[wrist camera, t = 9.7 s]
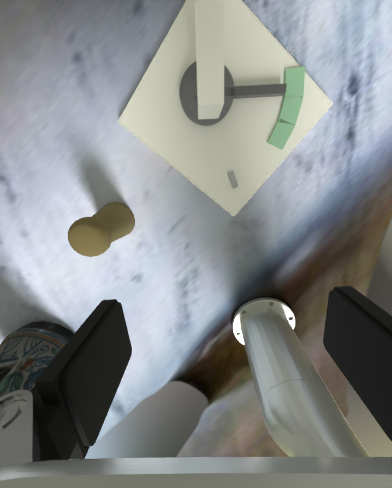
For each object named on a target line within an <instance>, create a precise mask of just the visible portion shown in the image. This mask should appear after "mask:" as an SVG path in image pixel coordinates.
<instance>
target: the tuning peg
mask: <svg viewBox="0 0 392 488" xmlns="http://www.w3.org/2000/svg"><path fill="white" fill-rule="evenodd" d="M224 29H225V0H216V1H201V2H195V32H196V61H195V62H194V63H192V64H191V65H190V66H189V67H188V68H187V70H186V71H185V73H184V74H183V77H182V79H181V83H180V89H179V95H180V101H181V105H182V108H183V110H184V112H185V114H186V115H187V117H188V118H189V119H190V120H191V121H192V122H194V123H196V124H198V125H201V126H211V125H214V124H216V123H218V122H220V121H221V120H222V119H223V118H224V117H225V116H226V114H227V113H228V111H229V109H230V107H231V105H232V102H233V99H239V98H258V97H277V96H283V95H284V94H285V93H286V87H287V84H269V85H250V86H234V82H233V78H232V76H231V73H230V72H229V70H228V69H227V67H226V66H225V65H224Z"/></svg>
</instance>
